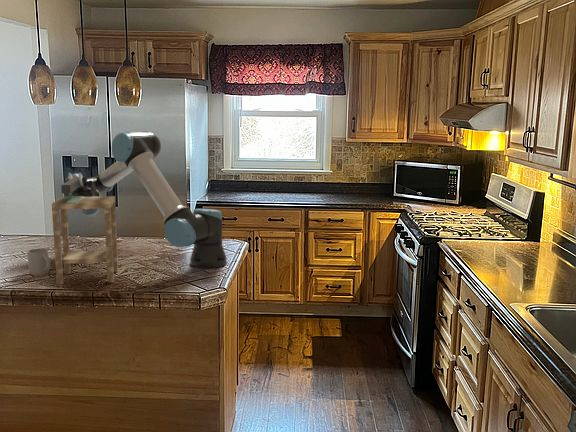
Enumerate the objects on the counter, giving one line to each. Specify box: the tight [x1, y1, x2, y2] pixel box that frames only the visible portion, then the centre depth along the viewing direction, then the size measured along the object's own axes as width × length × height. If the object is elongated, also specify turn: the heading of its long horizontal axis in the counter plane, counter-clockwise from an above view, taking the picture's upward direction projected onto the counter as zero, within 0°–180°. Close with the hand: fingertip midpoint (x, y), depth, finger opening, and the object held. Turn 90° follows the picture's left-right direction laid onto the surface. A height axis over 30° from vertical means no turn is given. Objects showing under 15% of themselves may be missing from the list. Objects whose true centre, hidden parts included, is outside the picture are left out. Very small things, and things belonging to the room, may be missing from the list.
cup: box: [27, 248, 51, 276], centre depth 225 cm, size 7×10×9 cm
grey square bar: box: [60, 175, 84, 194], centre depth 220 cm, size 3×26×3 cm, turn 10°
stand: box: [51, 195, 119, 285], centre depth 218 cm, size 20×16×30 cm
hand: (74, 175), depth 223 cm, fingers closed on grey square bar, 3 cm apart
